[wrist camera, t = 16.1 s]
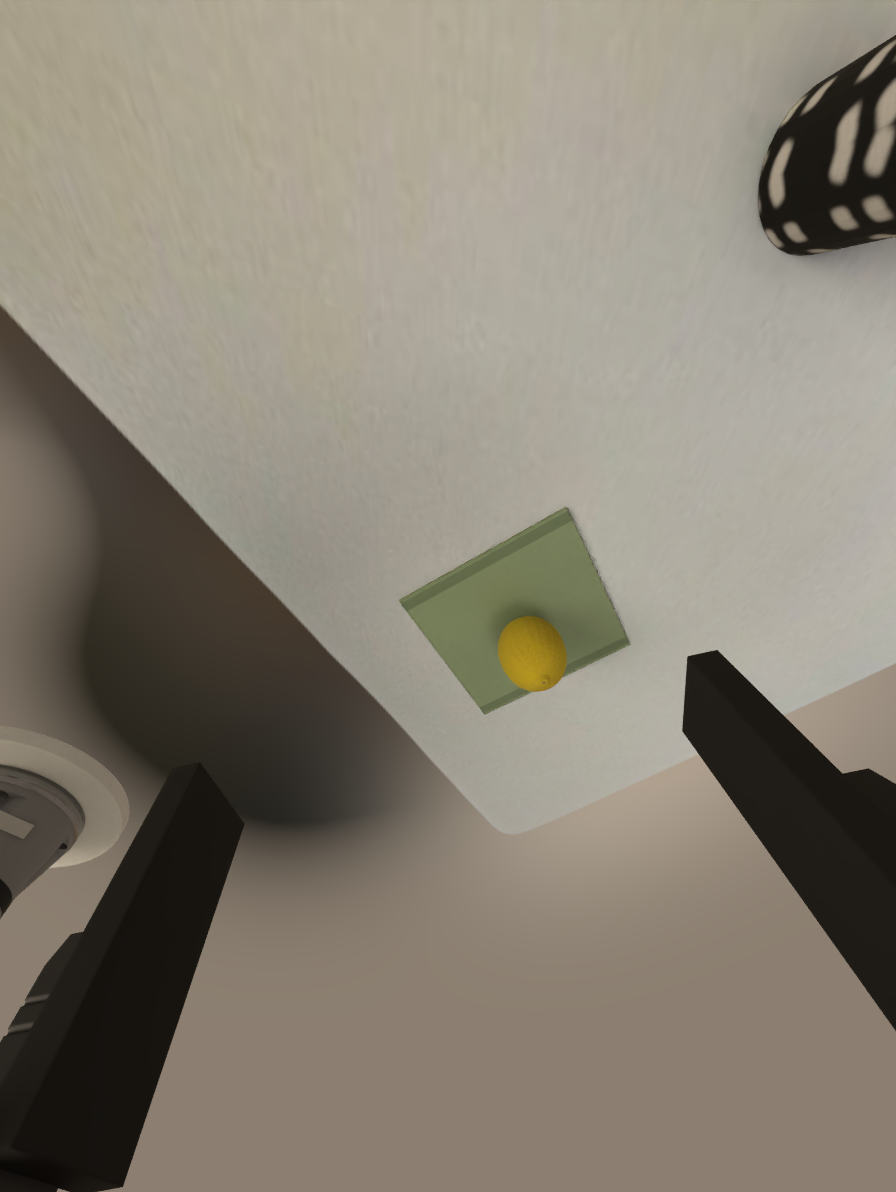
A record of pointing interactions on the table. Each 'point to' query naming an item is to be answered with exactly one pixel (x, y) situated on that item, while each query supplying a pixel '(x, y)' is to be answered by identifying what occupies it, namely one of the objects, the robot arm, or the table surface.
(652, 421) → the table surface
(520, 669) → the lemon
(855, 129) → the white-spotted black cylinder
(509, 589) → the napkin
